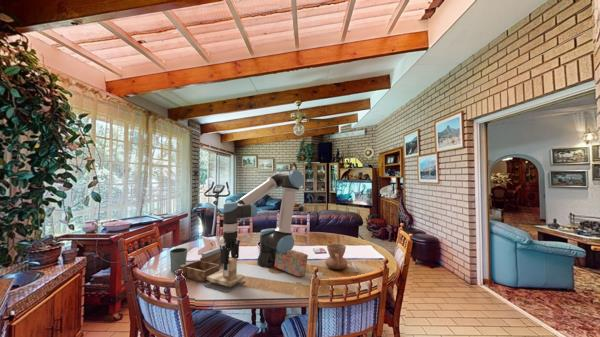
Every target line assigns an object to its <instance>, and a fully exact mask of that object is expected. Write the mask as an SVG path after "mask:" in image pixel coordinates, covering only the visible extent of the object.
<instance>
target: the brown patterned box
mask: <svg viewBox="0 0 600 337" xmlns="http://www.w3.org/2000/svg"><path fill="white" fill-rule="evenodd" d="M308 256H309V255H308V254H307V253H304V252H300V251H296V250H294V249H292V250H287V253H286V254H283V253H279V252H276V258H275V264H274V266H273V267H274V268H277V269H278V270H282V271H284V272H286V273H288V274H291V275H294V276H296V277H305V276H306V272H307V271H306V270H307V265H308V264H307V263H308Z"/></svg>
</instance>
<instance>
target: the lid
mask: <svg viewBox="0 0 600 337" xmlns="http://www.w3.org/2000/svg"><path fill="white" fill-rule="evenodd" d="M237 259H238V258H233V257H231V256H229V261H228V264H229V276H224V264H222V269H220V271H218V272H216V273H214V274H212V275H209V276H207V277H206V280H208V282H209V283H210V282H213V283H217V284H221V285H225V286H228V287H231V286H233V285H235V284H236V283H238V282H240V281H241V280H243V279H245V275H244V274H240V273H238V272H237V267H238V265H237V264H238V263H237V262H238V260H237Z"/></svg>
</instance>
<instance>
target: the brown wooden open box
mask: <svg viewBox="0 0 600 337" xmlns="http://www.w3.org/2000/svg"><path fill="white" fill-rule="evenodd" d="M179 269H182V271H183V273H182V275H183V276H184V277H185V278H186V279H188V278H189V280H193V281H196V282H199V283H206V282H209V280H206V277H207V276H209V275H212V274H214V273H216V272H218V271H220V270H221V252H219V253H216V254H213V255H211V256H208V257H205V258H203V257H202V256H201V257H200V258H199V259H198V260H195V261H192V262H190V263H186V265H180V266H179Z"/></svg>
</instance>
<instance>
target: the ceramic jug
mask: <svg viewBox="0 0 600 337" xmlns="http://www.w3.org/2000/svg"><path fill="white" fill-rule="evenodd" d="M346 247H347V246H346V245H345V244H343V243H336V242H335V243H334V242H333V243H328V244H327V245H326V249H327V252H328V255H329V257H327V258H326V259H325V262H324V263H325V266H326V267H327V268H330V269H332V270H338V271H339V270H344V269H346V268H347V266H348V265H349V264H348V261H347V259H345V258H344V255H345V253H346Z"/></svg>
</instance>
